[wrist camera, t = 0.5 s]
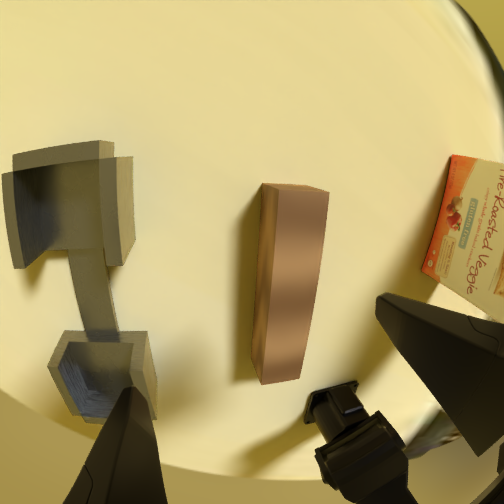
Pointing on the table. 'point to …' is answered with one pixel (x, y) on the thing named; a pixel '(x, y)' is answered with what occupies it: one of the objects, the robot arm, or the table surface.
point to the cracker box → (471, 235)
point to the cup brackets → (82, 265)
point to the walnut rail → (286, 277)
